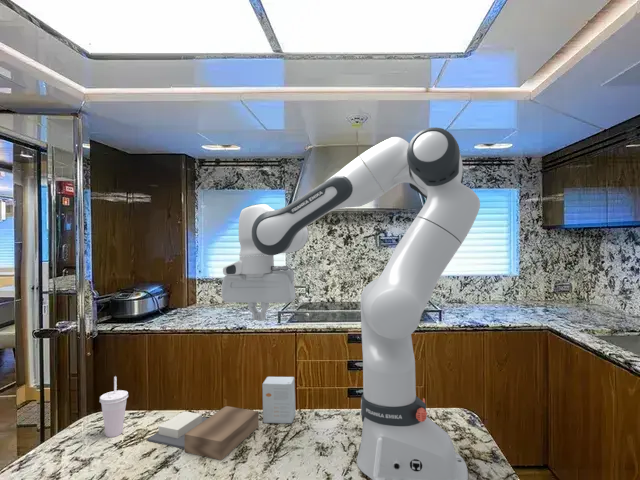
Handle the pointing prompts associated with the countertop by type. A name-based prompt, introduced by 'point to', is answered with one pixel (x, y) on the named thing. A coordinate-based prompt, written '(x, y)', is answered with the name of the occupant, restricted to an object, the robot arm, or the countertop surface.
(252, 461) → the countertop surface
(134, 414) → the countertop surface
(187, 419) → the tile
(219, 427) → the brown wooden block
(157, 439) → the mat
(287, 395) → the small box
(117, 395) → the smoothie
